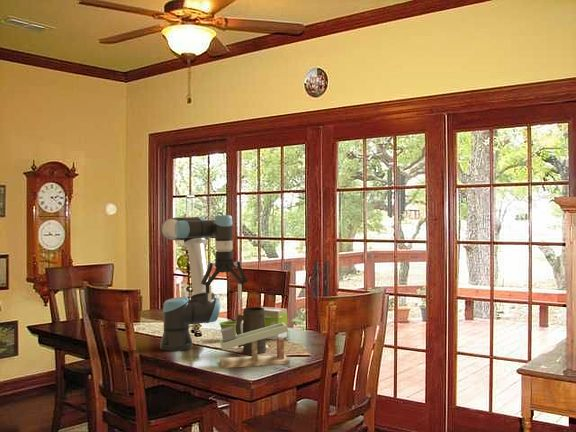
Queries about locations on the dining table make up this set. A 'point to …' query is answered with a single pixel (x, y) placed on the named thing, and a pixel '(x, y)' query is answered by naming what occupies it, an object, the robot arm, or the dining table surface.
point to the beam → (255, 335)
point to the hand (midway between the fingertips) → (224, 300)
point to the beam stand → (258, 357)
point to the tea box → (275, 319)
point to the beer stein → (252, 327)
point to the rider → (228, 334)
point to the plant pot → (228, 325)
